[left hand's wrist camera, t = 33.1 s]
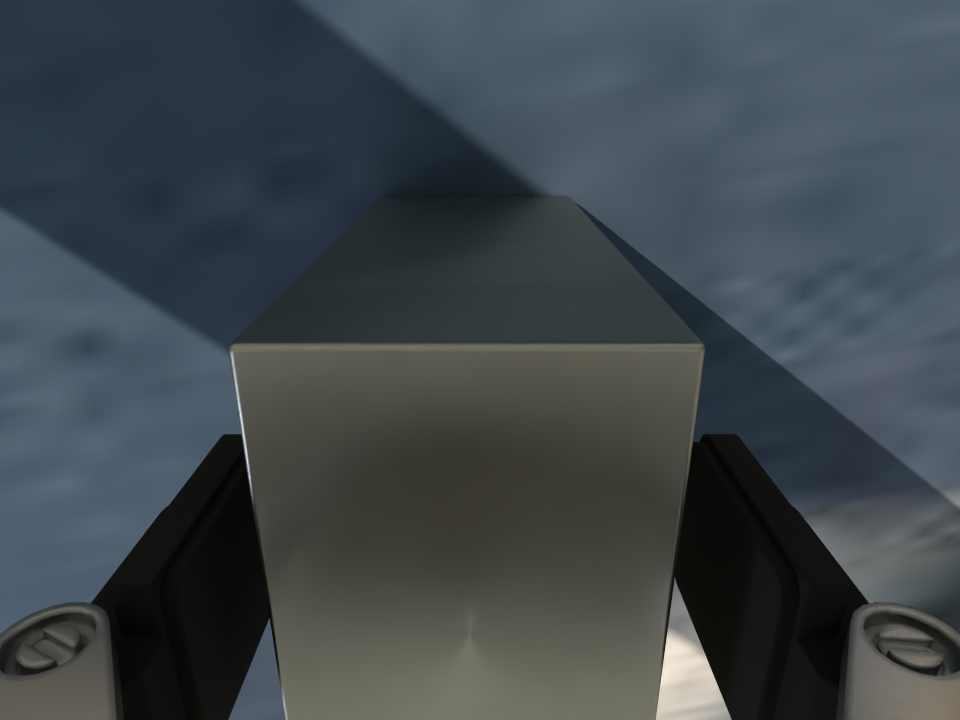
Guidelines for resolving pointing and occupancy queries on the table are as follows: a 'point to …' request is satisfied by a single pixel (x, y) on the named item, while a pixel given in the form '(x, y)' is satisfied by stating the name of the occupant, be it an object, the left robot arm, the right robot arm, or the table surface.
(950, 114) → the table surface
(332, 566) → the brick
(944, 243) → the table surface
